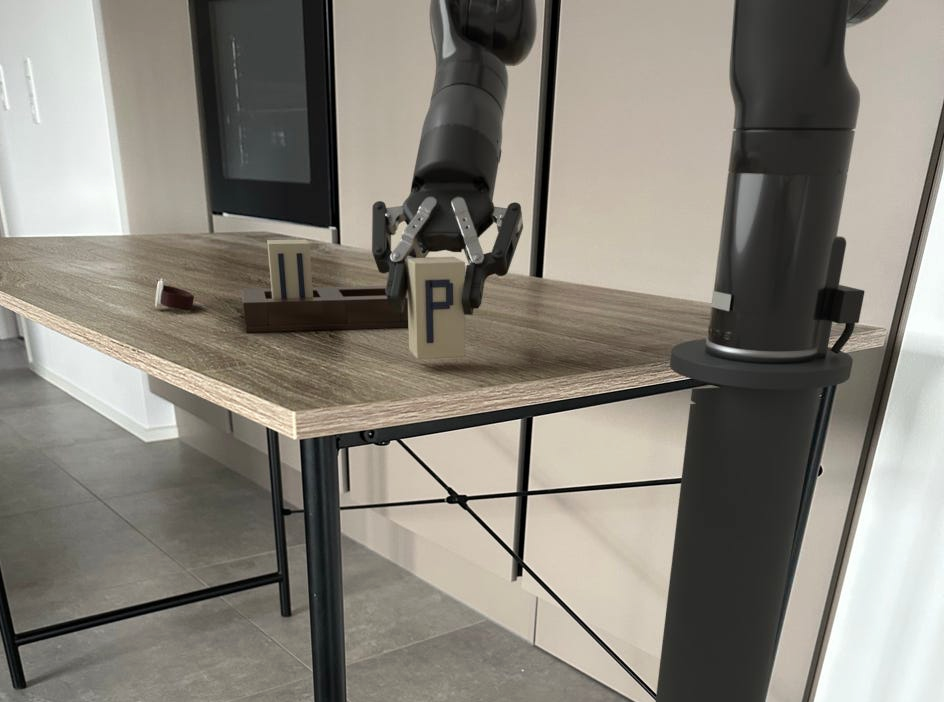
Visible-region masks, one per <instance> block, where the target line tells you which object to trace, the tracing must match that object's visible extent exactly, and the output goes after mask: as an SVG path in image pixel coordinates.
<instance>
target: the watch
mask: <svg viewBox="0 0 944 702" xmlns="http://www.w3.org/2000/svg"><path fill="white" fill-rule="evenodd" d="M157 281H158V282H157V285H156V290H155V300H154V301H155V302H154V306H155V307H154V308H157V309H161V306H162V305H163V306H165V307H168V308H172V309H177V310H183V311H190V310H193V307H194V306H193V305H194V298H195V295H194V294H192V293H191V292H190V291H187V290H184V289H181V288H179V287H175V286H170V285H164V278H162V277H161V278H160V280H157Z"/></svg>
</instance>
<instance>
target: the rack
mask: <svg viewBox="0 0 944 702" xmlns="http://www.w3.org/2000/svg"><path fill="white" fill-rule="evenodd" d="M312 287H313V298H275V299H272V291H271V287H270V288H242V289H241V297H242V308H243V316H244V317H243V318H244V326H245V333H273V332H303V331H304V332H307V331H333V330H363V329H364V330H366V329H368V330H369V329H397V328H409V326H408V295H407V294H406V300H405V305H404V310H403V312H394V309H393V306H390V304H389V302H388V299H387V296H386V292H385V290H386V285H354V286H353V285H351V286H350V285H349V286H312Z"/></svg>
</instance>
